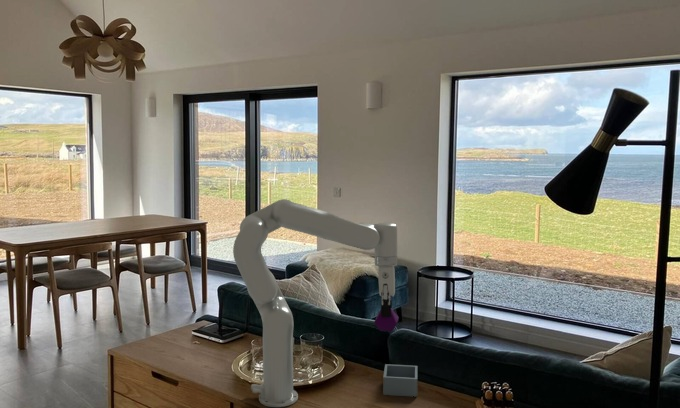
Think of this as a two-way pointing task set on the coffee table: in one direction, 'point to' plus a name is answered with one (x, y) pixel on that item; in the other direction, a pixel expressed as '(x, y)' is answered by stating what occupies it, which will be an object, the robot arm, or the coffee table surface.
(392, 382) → the walled box
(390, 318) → the perfume bottle
